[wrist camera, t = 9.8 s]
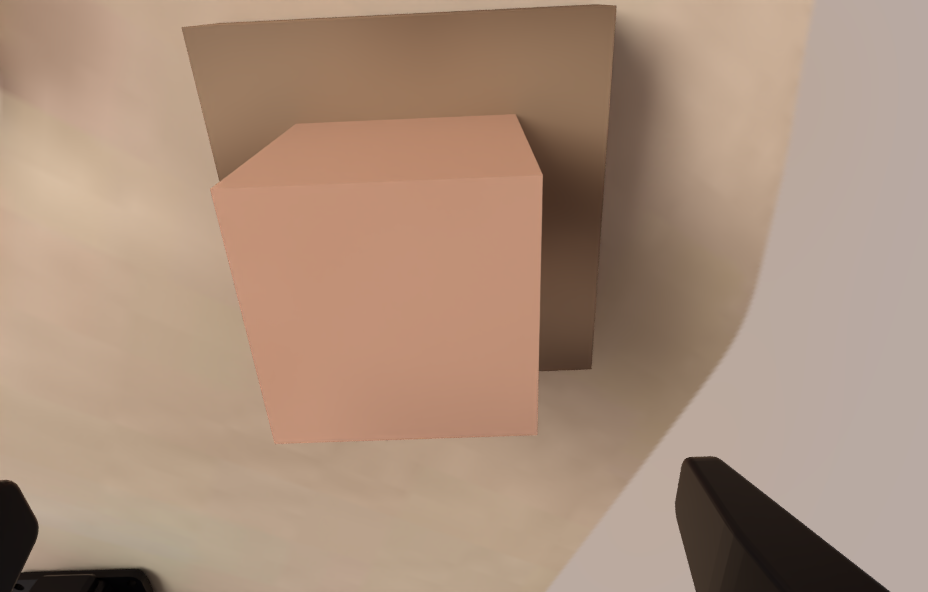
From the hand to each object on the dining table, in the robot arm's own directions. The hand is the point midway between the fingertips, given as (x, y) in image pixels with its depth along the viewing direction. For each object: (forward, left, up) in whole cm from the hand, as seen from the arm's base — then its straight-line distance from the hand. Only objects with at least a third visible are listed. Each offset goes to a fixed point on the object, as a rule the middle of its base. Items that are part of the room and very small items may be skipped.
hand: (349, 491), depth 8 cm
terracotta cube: (0, 0, -10) cm, 10 cm away
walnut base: (0, 0, -13) cm, 13 cm away
